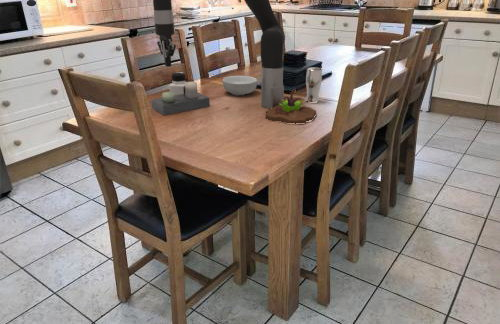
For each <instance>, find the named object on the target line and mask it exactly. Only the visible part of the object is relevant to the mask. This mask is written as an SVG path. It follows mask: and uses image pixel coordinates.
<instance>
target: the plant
mask: <svg viewBox="0 0 500 324" xmlns="http://www.w3.org/2000/svg"><path fill="white" fill-rule="evenodd" d="M290 92H291V93H290V96H284V98H283V99H282V103H283V105H282V104H280V105H277V106H275V107H273V108H272V109H271V108H267V110H265V114H264V115H265V116H264V117H265V119H266V120H267V119H268V120H267V121H269V120H272V121H271V122H275V121H281V122H286V123H295V124H296V123H305V122H306V121H309V120H312V119H313V118H314V116H315V115H316V116H317V110H315V109H313V108H312V107H310V106H304V105H303V103H304V99H303V98H301V97H296V98H294V96H293V95H294V94H295V93H297V90H296V89H295V88H294V89H292V90H291V91H290ZM300 104H301V105H300ZM316 116H315V117H316ZM314 119H315V118H314ZM314 119H313V120H314ZM281 122H280V123H281ZM286 123H285V124H286ZM305 124H306V123H305Z"/></svg>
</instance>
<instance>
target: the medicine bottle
mask: <svg viewBox="0 0 500 324" xmlns="http://www.w3.org/2000/svg"><path fill="white" fill-rule="evenodd" d="M171 80H172V81H171V82H172V83H170V84H169V87H168V89H169V92H174V94H175V95H180V94H185V83H186V82H187V81H186V74H185V73H184V72H180V71H177V72H176V71H175V72H173V73H172V74H171Z"/></svg>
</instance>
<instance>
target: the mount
mask: <svg viewBox="0 0 500 324" xmlns="http://www.w3.org/2000/svg"><path fill="white" fill-rule="evenodd" d="M150 102H151V109H152V110H154V111H155V112H157V113H159V114H160V115H163V116H168V115H173V114H178V113H183V112H187V111H188V112H189V111H193V110H198V109H199V110H200V109H203V108H208V107H210V106H211V104H210V102H211V101H210V97H209V96H207V95H204V94H202V93H200V92H198V97H196V98H190V99H189V98H187V97H186V95H185V94H180V95H175V101H174V102H168V103H165V102H163V99H162V97H157V98H152V99H150Z"/></svg>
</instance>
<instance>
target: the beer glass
mask: <svg viewBox="0 0 500 324" xmlns="http://www.w3.org/2000/svg"><path fill="white" fill-rule="evenodd" d="M322 76H323V68H321V67H314V66H313V67H308V68H306V75H305V85H306V99H305V102H306V101H309V102H316V101H319V102H320V99H319V96H320V95H319V93H320V89H321V85H322V80H323V77H322Z"/></svg>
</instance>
